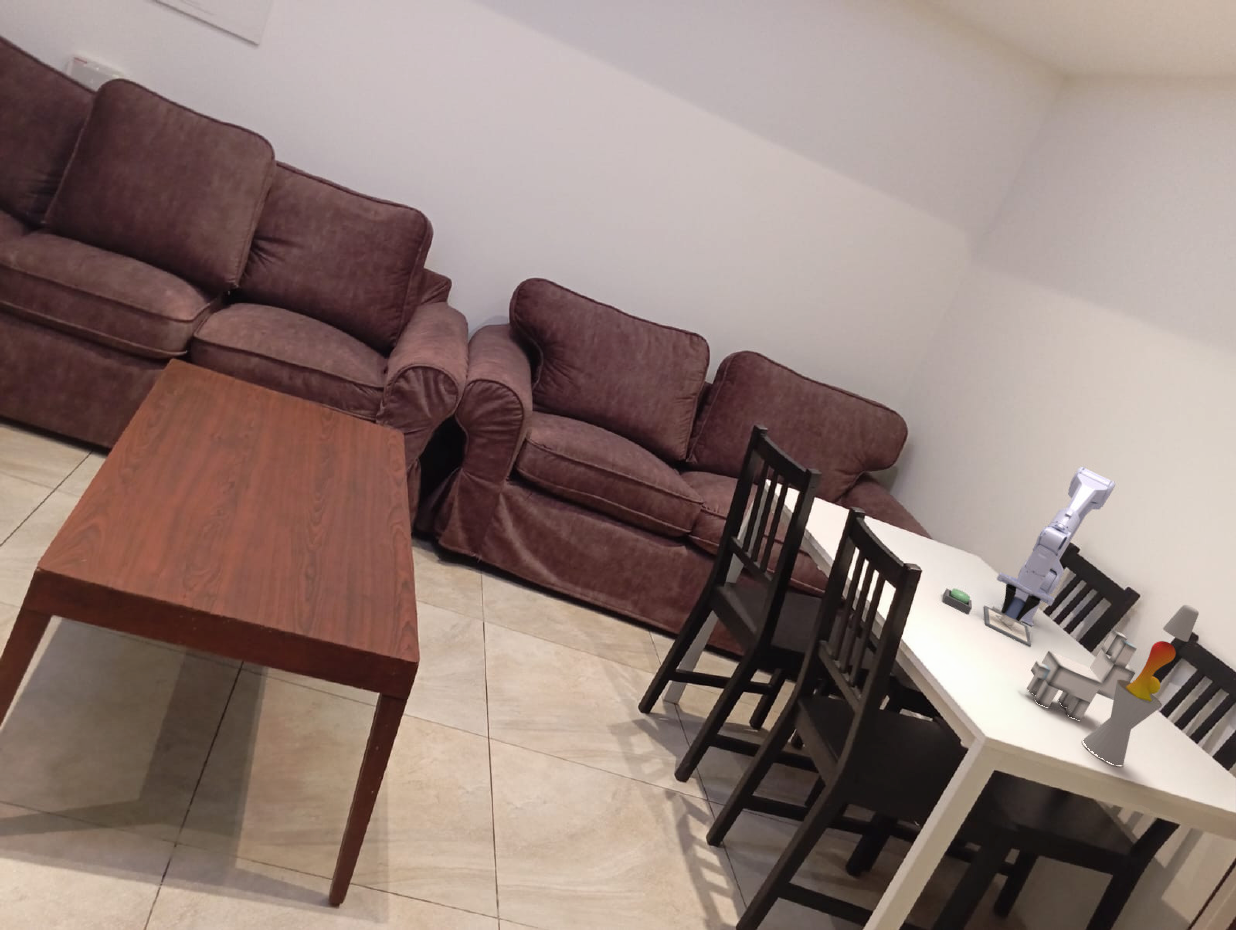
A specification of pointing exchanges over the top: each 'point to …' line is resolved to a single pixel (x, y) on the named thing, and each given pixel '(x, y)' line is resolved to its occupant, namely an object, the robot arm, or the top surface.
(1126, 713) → the lava lamp
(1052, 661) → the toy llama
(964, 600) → the button
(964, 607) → the button housing
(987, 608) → the clipboard
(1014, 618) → the marker
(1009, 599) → the robot arm
